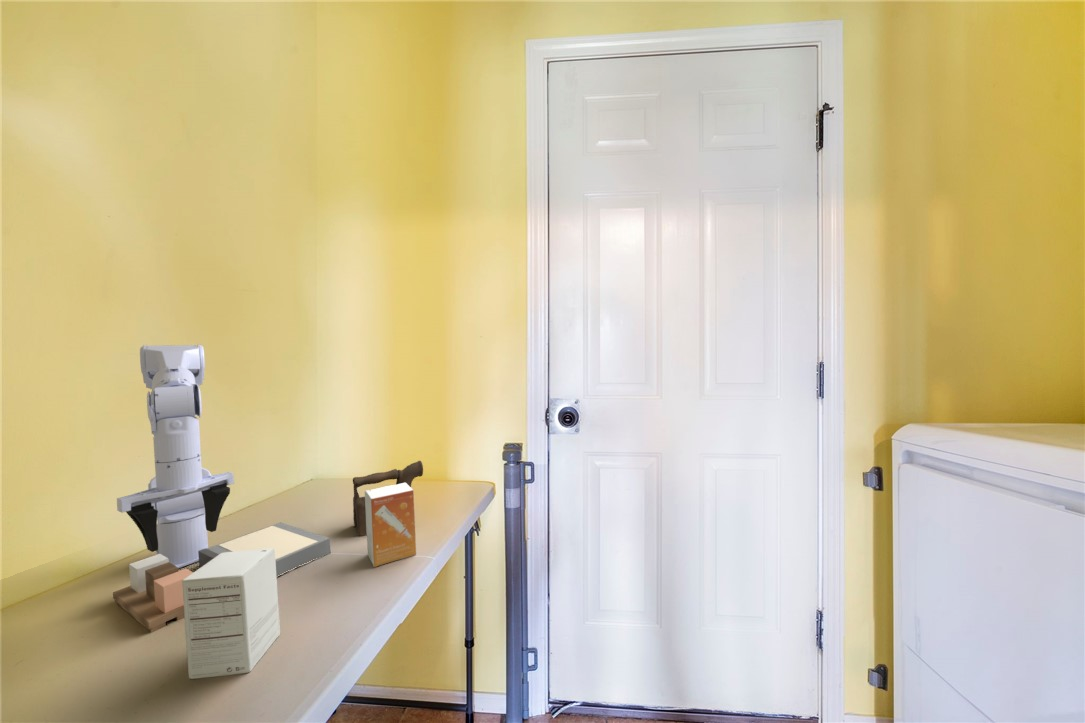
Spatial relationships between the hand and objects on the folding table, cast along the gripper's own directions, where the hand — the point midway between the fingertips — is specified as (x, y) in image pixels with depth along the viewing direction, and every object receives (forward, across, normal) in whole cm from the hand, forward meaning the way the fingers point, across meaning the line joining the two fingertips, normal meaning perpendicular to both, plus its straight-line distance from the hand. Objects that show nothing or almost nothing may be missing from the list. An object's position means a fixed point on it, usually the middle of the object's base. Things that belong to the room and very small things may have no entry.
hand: (183, 539), depth 67 cm
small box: (+10, +26, -20) cm, 34 cm away
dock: (+10, +13, +3) cm, 17 cm away
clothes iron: (+10, +36, -6) cm, 38 cm away
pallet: (+11, -2, +3) cm, 11 cm away
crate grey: (+9, -2, +9) cm, 12 cm away
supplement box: (+10, -2, -23) cm, 25 cm away
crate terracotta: (+9, -2, -3) cm, 9 cm away
